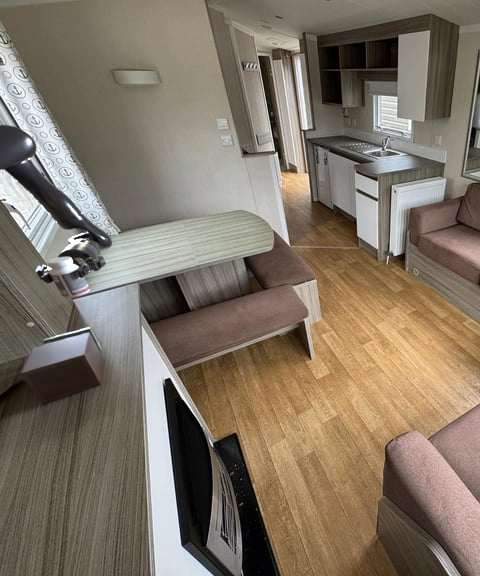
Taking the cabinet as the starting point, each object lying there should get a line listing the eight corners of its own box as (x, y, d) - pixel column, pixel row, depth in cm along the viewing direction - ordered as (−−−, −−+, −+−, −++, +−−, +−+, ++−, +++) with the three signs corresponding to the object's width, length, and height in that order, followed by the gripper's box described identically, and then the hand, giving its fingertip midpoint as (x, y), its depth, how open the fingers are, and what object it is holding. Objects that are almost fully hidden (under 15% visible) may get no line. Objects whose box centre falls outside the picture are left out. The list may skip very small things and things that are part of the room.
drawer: (58, 358, 76) (45, 336, 73) (102, 346, 81) (90, 324, 78) (50, 383, 69) (34, 359, 66) (98, 367, 73) (85, 344, 70)
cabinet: (52, 376, 72) (33, 347, 68) (104, 360, 77) (89, 332, 73) (42, 404, 64) (20, 373, 60) (101, 384, 69) (84, 354, 65)
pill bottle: (93, 287, 86) (77, 254, 82) (86, 295, 81) (69, 261, 77) (67, 291, 84) (49, 258, 79) (58, 300, 79) (39, 265, 75)
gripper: (39, 249, 86) (16, 269, 73) (104, 241, 92) (93, 257, 80) (53, 273, 89) (32, 296, 76) (114, 263, 96) (105, 283, 83)
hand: (63, 276), depth 78 cm, fingers closed on pill bottle, 5 cm apart
